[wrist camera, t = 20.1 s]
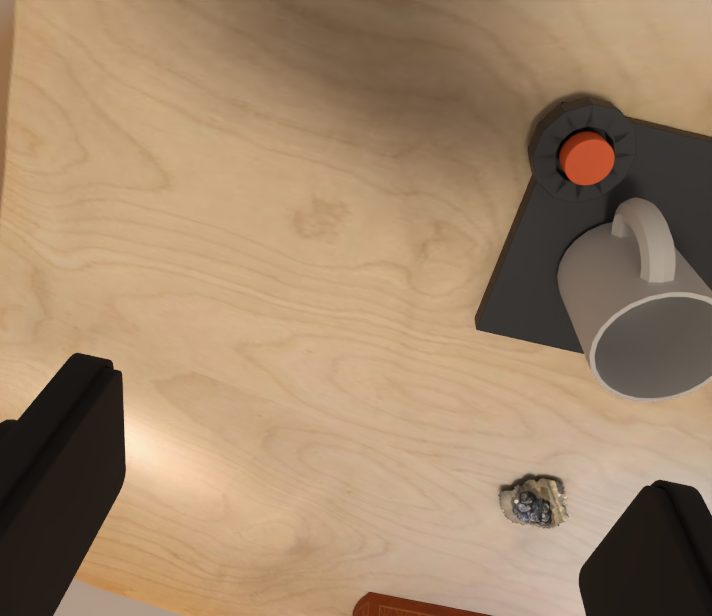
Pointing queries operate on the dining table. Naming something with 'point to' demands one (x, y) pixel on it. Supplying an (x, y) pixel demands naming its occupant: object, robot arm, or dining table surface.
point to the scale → (593, 213)
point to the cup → (638, 307)
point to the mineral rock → (535, 503)
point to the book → (403, 607)
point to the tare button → (586, 158)
